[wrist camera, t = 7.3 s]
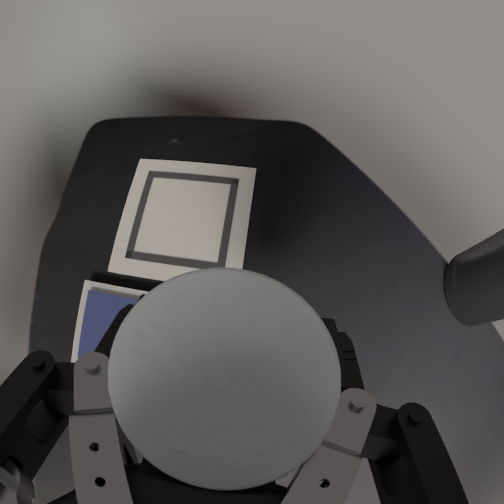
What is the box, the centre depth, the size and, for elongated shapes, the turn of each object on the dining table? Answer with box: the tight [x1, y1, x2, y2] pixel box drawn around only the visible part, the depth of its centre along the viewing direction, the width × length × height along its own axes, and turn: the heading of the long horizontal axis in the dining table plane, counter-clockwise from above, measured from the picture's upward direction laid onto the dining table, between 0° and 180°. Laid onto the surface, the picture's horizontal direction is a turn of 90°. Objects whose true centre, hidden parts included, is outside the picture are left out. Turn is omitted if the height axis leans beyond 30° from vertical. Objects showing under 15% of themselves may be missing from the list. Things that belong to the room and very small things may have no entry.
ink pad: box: [71, 280, 148, 362], centre depth 27 cm, size 12×9×2 cm
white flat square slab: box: [108, 159, 256, 281], centre depth 32 cm, size 14×14×1 cm
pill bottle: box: [108, 267, 341, 490], centre depth 11 cm, size 6×6×11 cm
